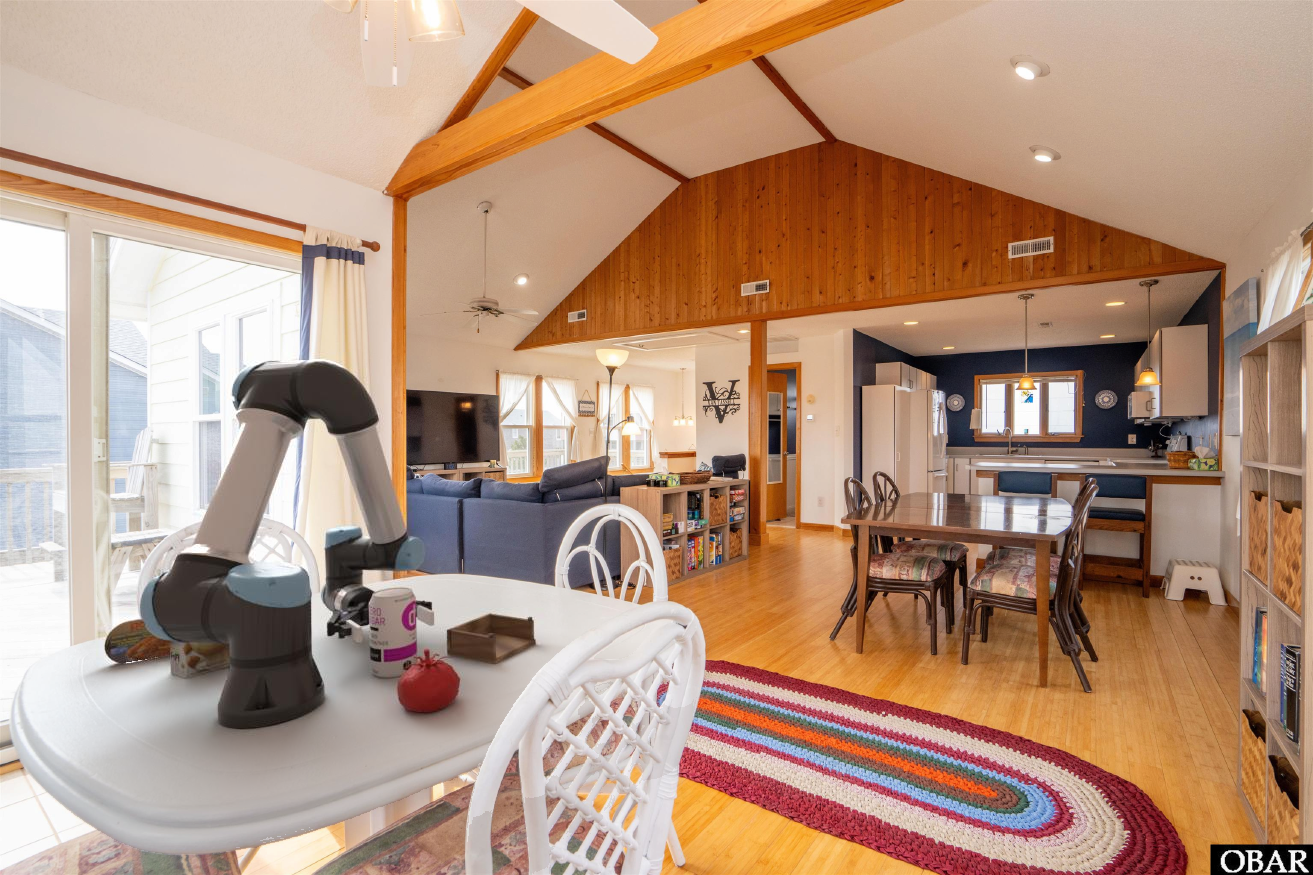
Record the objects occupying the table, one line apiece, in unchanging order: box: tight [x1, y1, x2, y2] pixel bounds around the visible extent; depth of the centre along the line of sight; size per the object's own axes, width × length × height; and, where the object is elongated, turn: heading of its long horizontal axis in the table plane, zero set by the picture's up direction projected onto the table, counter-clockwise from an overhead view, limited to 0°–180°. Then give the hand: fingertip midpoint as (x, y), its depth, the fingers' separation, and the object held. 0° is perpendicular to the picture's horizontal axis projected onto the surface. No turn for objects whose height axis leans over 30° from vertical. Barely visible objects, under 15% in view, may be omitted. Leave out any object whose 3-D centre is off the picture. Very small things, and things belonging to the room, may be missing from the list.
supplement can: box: [368, 586, 418, 679], centre depth 120 cm, size 8×8×15 cm
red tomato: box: [396, 648, 461, 714], centre depth 105 cm, size 10×10×9 cm
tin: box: [103, 618, 170, 664], centre depth 130 cm, size 15×3×8 cm, turn 133°
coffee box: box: [169, 641, 230, 679], centre depth 123 cm, size 9×6×16 cm
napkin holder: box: [446, 612, 537, 665], centre depth 131 cm, size 13×13×6 cm
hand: (397, 626), depth 120 cm, fingers open, 13 cm apart
